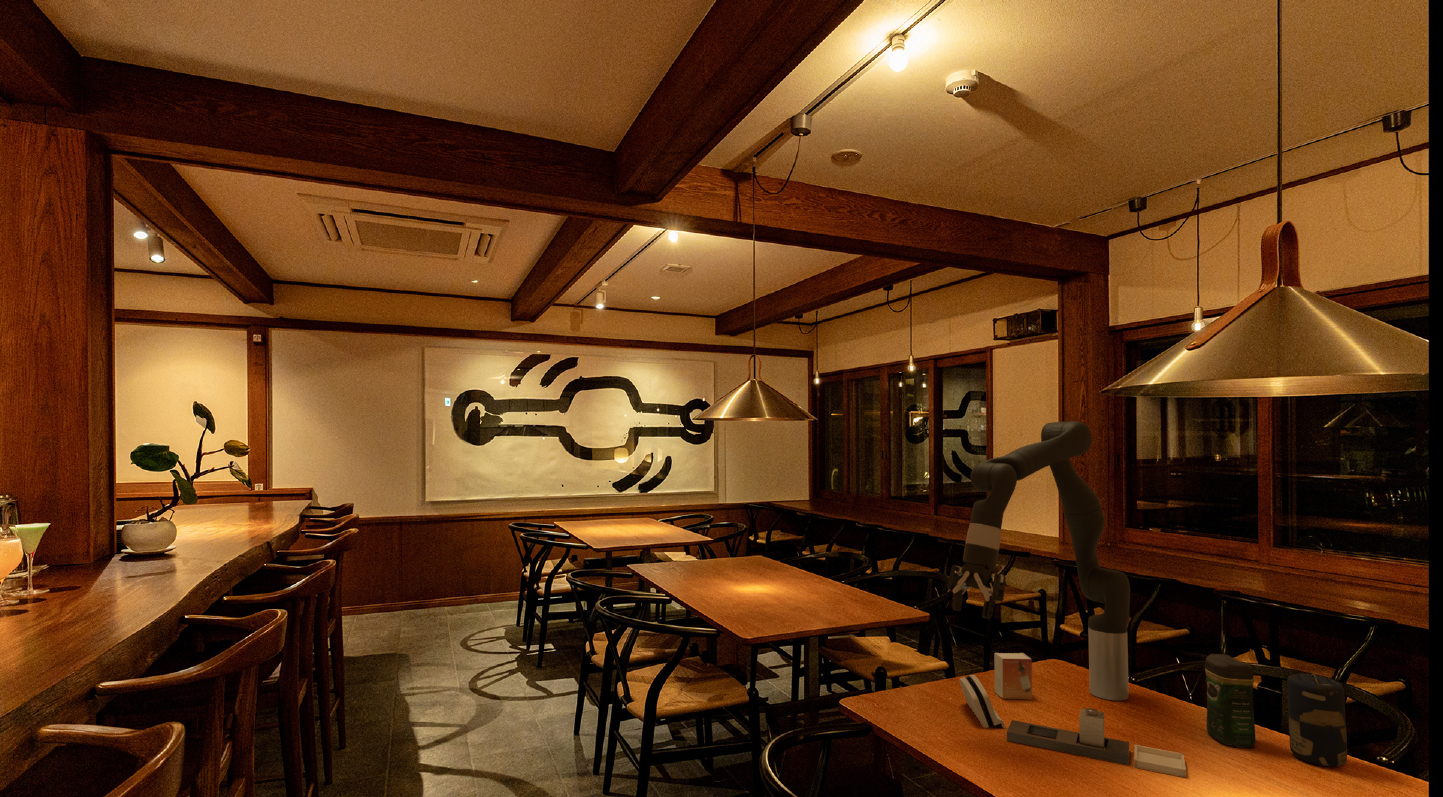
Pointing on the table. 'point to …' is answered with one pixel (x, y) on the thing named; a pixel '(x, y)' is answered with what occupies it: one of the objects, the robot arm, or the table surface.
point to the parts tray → (1160, 761)
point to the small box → (1013, 675)
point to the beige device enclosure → (979, 701)
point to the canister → (1317, 719)
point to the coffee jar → (1230, 701)
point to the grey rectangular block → (1092, 728)
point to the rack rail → (1066, 742)
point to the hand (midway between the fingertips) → (970, 614)
